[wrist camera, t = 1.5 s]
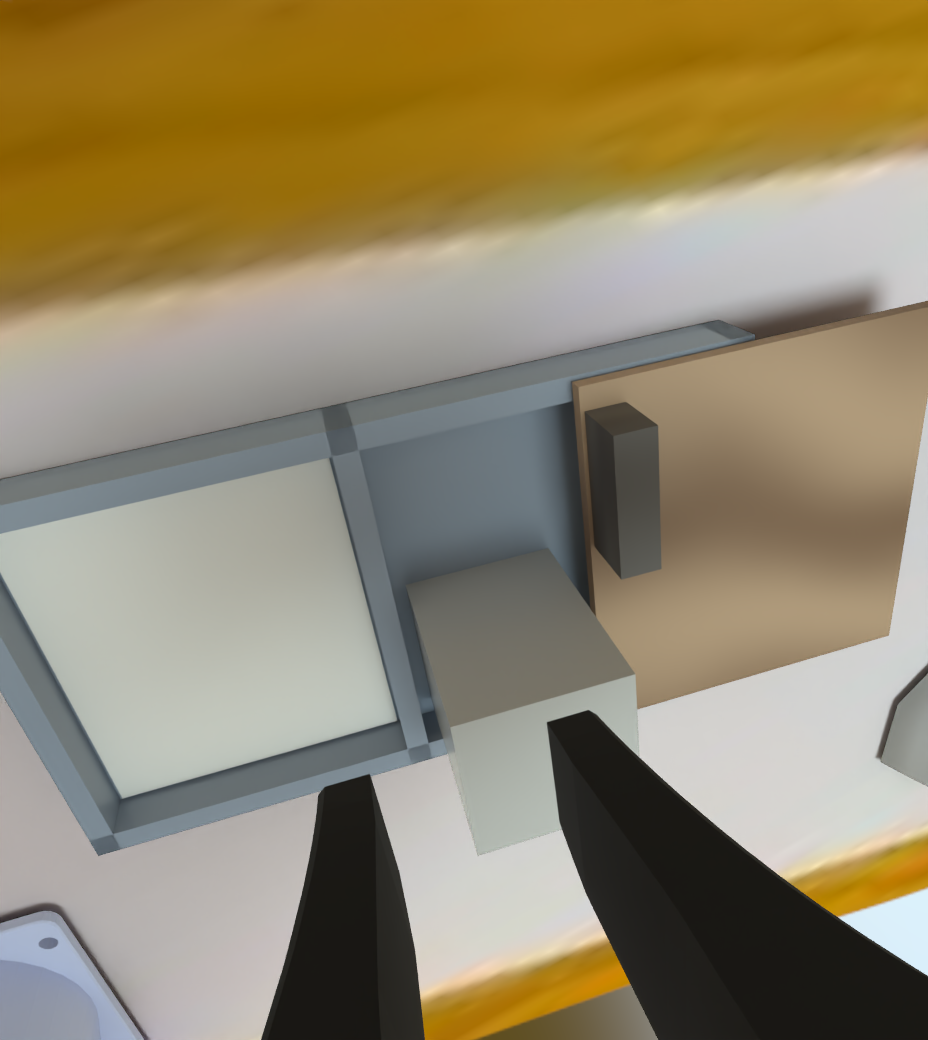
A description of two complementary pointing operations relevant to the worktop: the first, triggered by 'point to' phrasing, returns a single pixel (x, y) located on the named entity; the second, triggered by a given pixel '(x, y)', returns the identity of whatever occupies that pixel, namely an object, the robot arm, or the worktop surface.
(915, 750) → the flask
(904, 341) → the door
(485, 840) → the block
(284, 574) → the tray
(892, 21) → the worktop surface
